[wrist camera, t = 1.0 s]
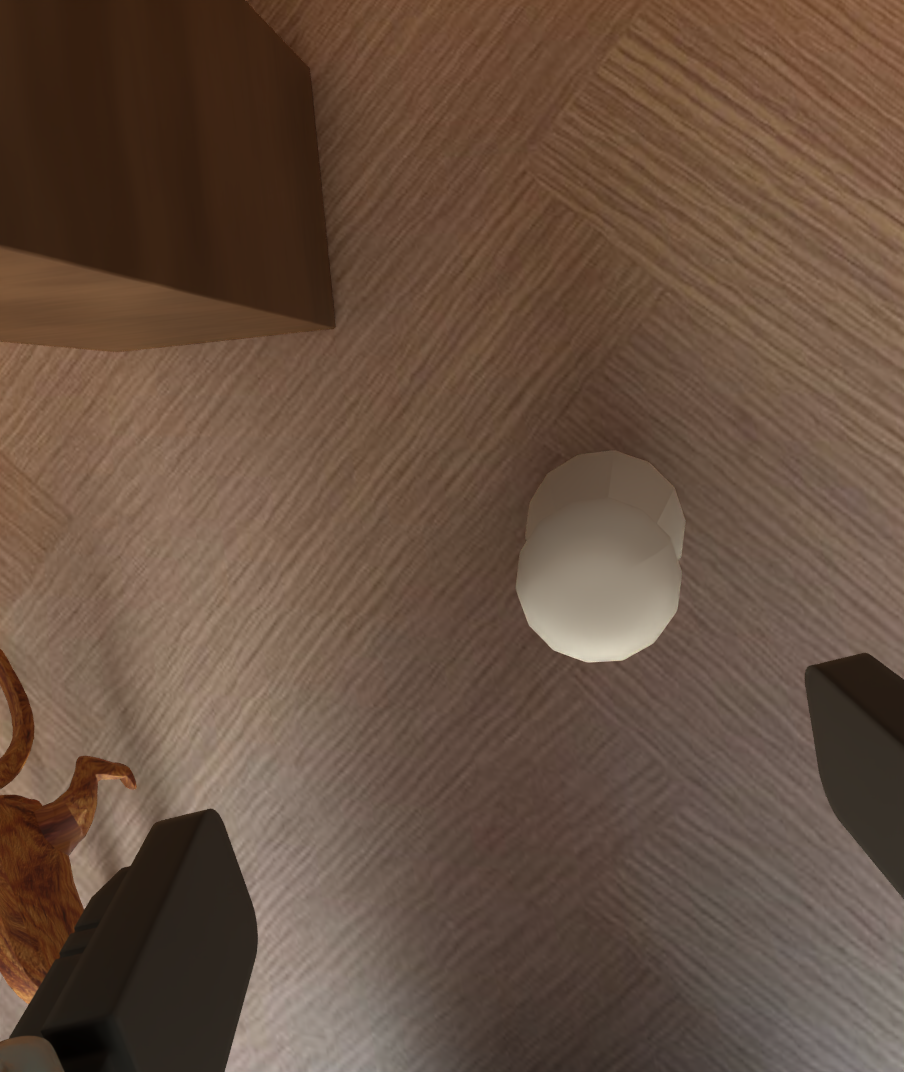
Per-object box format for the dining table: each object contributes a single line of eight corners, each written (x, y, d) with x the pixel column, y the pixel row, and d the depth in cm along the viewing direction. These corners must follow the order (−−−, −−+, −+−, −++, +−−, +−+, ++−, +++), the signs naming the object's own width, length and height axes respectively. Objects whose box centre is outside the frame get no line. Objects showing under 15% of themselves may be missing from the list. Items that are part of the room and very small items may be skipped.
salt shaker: (668, 601, 34) (696, 720, 21) (525, 581, 35) (471, 685, 22) (689, 454, 33) (732, 489, 20) (541, 438, 34) (494, 462, 21)
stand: (310, 67, 33) (-176, -447, 13) (336, 328, 35) (-65, 232, 15) (82, 106, 35) (-645, -284, 15) (116, 352, 37) (-507, 296, 17)
